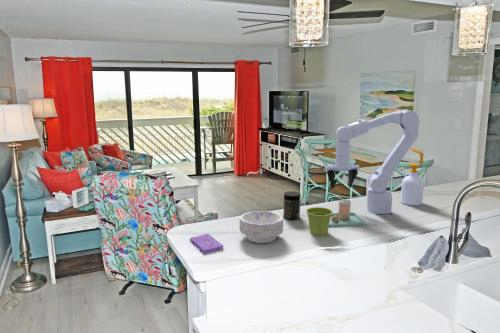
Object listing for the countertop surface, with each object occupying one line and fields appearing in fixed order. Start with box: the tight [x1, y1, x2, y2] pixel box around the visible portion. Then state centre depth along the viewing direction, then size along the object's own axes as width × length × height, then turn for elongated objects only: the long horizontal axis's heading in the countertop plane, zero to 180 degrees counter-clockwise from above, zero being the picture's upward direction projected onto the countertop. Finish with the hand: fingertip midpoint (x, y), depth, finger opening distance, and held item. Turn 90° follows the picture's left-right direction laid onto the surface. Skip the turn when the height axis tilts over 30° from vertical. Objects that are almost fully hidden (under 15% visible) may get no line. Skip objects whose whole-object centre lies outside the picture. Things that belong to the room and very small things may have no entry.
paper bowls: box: [239, 210, 284, 244], centre depth 135 cm, size 15×15×8 cm
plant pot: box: [305, 206, 334, 237], centre depth 139 cm, size 9×9×9 cm
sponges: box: [189, 233, 224, 255], centre depth 131 cm, size 7×13×2 cm, turn 30°
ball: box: [331, 215, 340, 223], centre depth 148 cm, size 3×3×3 cm
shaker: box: [337, 199, 352, 221], centre depth 152 cm, size 5×5×7 cm
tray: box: [329, 211, 367, 228], centre depth 151 cm, size 16×12×2 cm
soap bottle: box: [400, 147, 425, 207], centre depth 172 cm, size 9×9×25 cm
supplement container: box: [282, 191, 302, 221], centre depth 154 cm, size 7×7×10 cm
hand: (341, 187), depth 164 cm, fingers open, 7 cm apart
